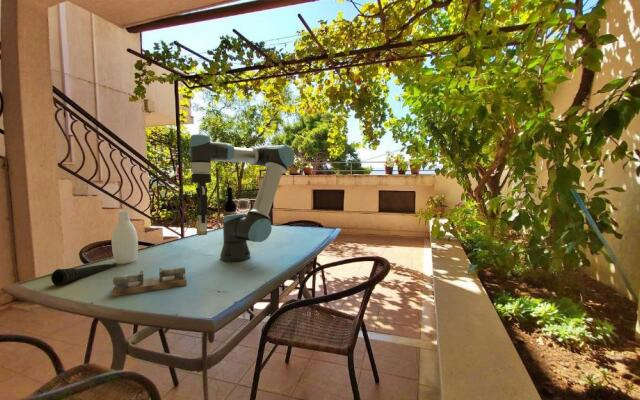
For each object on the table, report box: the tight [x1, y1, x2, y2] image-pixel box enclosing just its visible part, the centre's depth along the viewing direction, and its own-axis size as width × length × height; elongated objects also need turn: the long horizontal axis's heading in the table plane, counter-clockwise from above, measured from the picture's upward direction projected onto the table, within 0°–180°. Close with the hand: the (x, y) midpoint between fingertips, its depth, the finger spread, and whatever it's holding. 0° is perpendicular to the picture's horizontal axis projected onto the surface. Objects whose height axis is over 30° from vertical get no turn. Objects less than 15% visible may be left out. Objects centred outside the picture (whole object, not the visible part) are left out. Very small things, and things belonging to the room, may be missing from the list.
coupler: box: [196, 217, 208, 236], centre depth 124 cm, size 4×4×7 cm
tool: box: [50, 263, 118, 287], centre depth 128 cm, size 28×6×7 cm, turn 167°
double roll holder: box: [111, 266, 188, 297], centre depth 115 cm, size 24×9×6 cm, turn 118°
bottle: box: [110, 209, 139, 265], centre depth 148 cm, size 11×11×25 cm
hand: (202, 229), depth 124 cm, fingers closed on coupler, 4 cm apart
